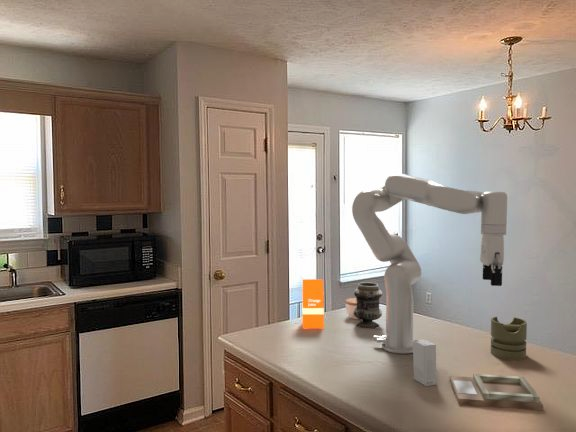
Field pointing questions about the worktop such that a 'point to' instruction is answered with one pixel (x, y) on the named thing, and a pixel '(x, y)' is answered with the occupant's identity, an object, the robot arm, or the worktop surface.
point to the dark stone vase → (367, 305)
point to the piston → (509, 339)
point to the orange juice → (313, 303)
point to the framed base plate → (495, 391)
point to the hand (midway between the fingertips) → (491, 282)
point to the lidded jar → (351, 307)
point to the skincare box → (424, 362)
